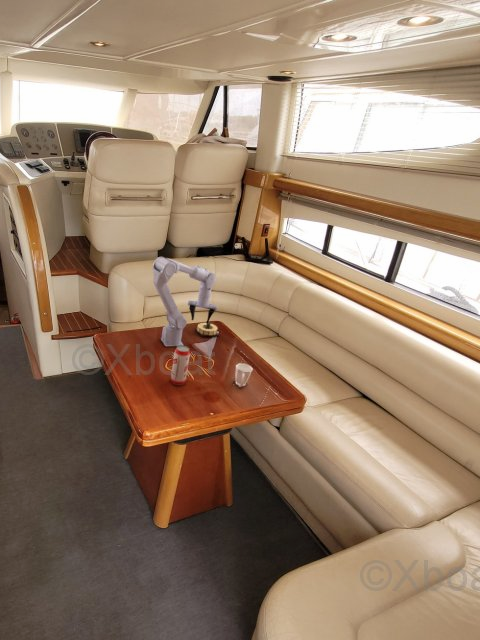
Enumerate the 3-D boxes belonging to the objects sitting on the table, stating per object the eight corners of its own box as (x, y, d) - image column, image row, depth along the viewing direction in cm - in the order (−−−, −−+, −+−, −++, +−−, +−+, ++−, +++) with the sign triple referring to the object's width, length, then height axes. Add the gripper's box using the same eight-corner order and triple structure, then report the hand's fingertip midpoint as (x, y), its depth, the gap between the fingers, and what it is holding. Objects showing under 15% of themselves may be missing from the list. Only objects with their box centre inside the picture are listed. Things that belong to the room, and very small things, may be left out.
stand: (202, 337, 201) (204, 327, 198) (195, 329, 209) (197, 320, 206) (218, 336, 204) (219, 326, 201) (211, 329, 211) (212, 319, 208)
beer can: (185, 379, 164) (190, 345, 156) (185, 387, 158) (190, 353, 150) (170, 377, 164) (175, 343, 156) (170, 385, 159) (174, 351, 151)
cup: (248, 381, 167) (253, 365, 163) (248, 393, 158) (252, 376, 154) (232, 377, 168) (236, 361, 164) (231, 389, 159) (235, 373, 155)
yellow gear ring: (201, 335, 200) (202, 331, 199) (194, 327, 208) (195, 323, 207) (219, 334, 203) (220, 330, 201) (212, 326, 211) (212, 322, 210)
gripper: (220, 295, 189) (215, 321, 196) (191, 290, 193) (188, 315, 199) (218, 300, 183) (213, 326, 190) (188, 294, 187) (184, 320, 193)
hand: (200, 321), depth 194 cm, fingers open, 7 cm apart
